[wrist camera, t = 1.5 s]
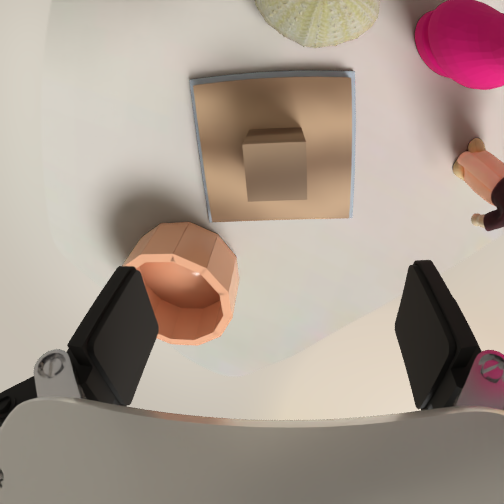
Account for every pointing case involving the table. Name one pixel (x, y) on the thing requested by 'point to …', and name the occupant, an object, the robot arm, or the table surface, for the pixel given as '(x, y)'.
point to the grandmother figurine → (483, 181)
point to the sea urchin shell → (319, 19)
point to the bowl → (187, 281)
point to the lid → (276, 147)
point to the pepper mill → (463, 43)
